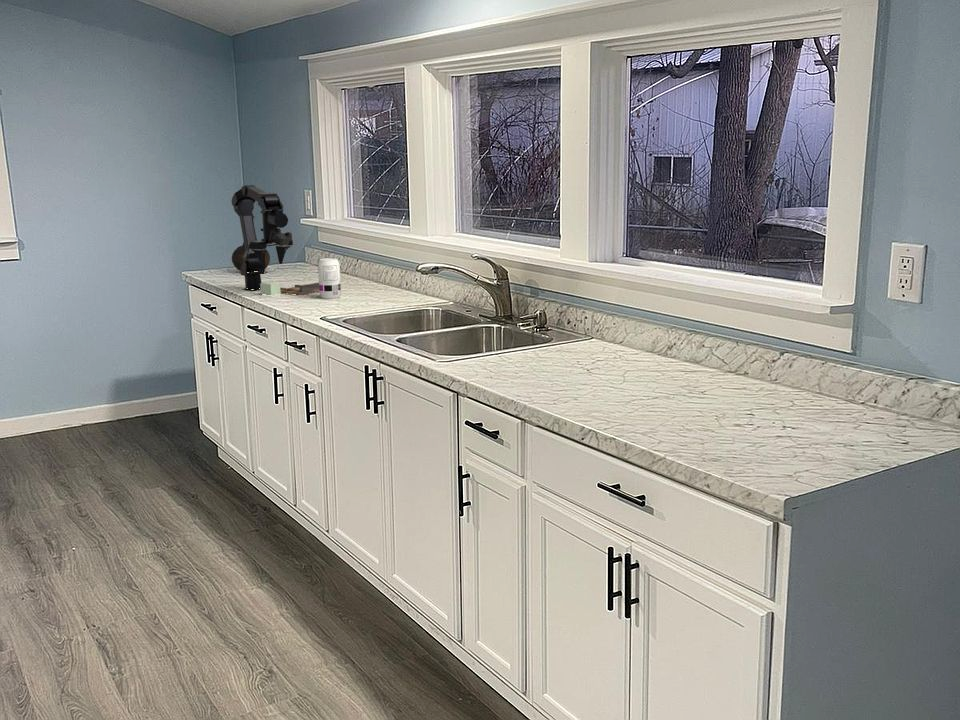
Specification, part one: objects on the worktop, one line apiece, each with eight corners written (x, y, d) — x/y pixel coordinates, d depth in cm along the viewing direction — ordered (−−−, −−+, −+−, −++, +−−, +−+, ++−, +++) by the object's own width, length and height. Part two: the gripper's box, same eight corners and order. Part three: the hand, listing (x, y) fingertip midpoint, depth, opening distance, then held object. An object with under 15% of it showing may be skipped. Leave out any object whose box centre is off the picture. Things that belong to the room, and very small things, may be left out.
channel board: (275, 293, 383) (275, 284, 383) (299, 288, 394) (298, 280, 393) (300, 295, 375) (299, 286, 375) (323, 291, 386) (323, 282, 385)
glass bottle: (252, 268, 463) (248, 210, 457) (279, 270, 453) (275, 211, 447) (224, 273, 448) (220, 213, 442) (251, 275, 439) (247, 214, 433)
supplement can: (315, 298, 368) (313, 260, 365) (328, 295, 375) (326, 257, 372) (332, 299, 364) (330, 261, 361) (345, 296, 371) (343, 258, 368)
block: (260, 295, 378) (260, 283, 377) (270, 293, 382) (269, 281, 381) (271, 296, 375) (270, 284, 374) (280, 295, 379) (280, 282, 378)
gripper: (267, 228, 361) (269, 269, 364) (302, 224, 376) (303, 264, 380) (246, 227, 367) (249, 267, 370) (281, 223, 382) (283, 262, 386)
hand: (272, 265), depth 376 cm, fingers open, 9 cm apart
